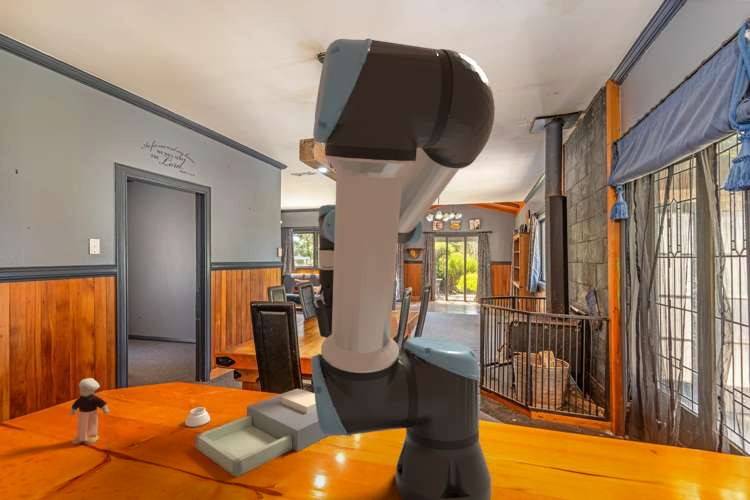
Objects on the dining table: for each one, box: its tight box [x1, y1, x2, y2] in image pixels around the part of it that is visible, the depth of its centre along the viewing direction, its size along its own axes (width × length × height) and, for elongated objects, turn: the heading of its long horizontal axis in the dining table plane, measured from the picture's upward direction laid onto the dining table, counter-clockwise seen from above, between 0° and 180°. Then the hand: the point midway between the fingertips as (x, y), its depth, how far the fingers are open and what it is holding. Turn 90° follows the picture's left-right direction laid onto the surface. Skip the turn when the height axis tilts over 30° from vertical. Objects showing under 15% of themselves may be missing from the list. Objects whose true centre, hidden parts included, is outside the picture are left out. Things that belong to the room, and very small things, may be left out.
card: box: [281, 388, 317, 414], centre depth 83 cm, size 9×6×1 cm, turn 50°
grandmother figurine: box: [69, 377, 110, 445], centre depth 76 cm, size 8×4×13 cm, turn 102°
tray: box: [195, 415, 293, 478], centre depth 72 cm, size 15×12×2 cm
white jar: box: [184, 406, 211, 428], centre depth 83 cm, size 5×3×5 cm
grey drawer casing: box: [246, 388, 330, 452], centre depth 82 cm, size 18×14×4 cm
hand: (334, 364), depth 91 cm, fingers closed
